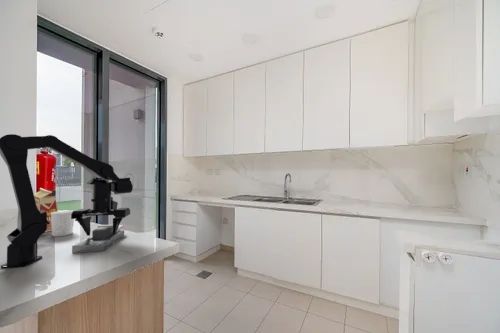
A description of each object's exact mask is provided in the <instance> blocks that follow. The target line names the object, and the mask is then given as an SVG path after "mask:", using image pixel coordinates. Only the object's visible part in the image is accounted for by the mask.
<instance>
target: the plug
mask: <svg viewBox="0 0 500 333" xmlns="http://www.w3.org/2000/svg"><path fill="white" fill-rule="evenodd" d="M91 235H92V240H95V239H107V238H109V237H111V227H99V228H98V227H97V228H96V229H93V230H92V234H91Z"/></svg>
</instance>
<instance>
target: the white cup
mask: <svg viewBox="0 0 500 333" xmlns="http://www.w3.org/2000/svg"><path fill="white" fill-rule="evenodd" d="M73 211H75V210H73V209H67V210H58V211H56V212H52V213H51V228H52V231H51V237H63V236H69V235H71V234H73V232H74V221H75V219H71V214H72V212H73Z"/></svg>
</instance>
